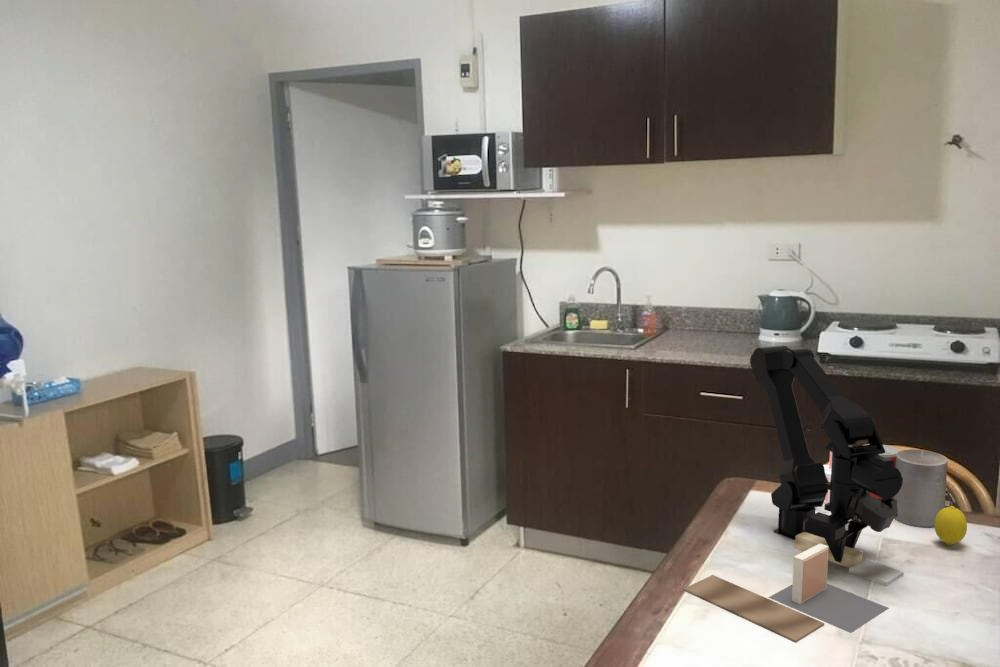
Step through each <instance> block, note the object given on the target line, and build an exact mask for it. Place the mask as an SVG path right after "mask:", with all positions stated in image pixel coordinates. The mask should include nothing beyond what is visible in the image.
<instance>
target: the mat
mask: <svg viewBox="0 0 1000 667" xmlns="http://www.w3.org/2000/svg"><path fill="white" fill-rule="evenodd" d="M792 586H793V583H792V584H790V585H789V586H787V587H785V588H783V589H781V590H779V591H778V592H775V593H774V594H772V595H770V596H769V597H768V599H770V600H772V601H774V602H777V603H779V604H781V605H784V606H786V607H788V608H791V609H793V610H795V611H797V612H800V613H802V614H804V615H807V616H809V617H811V618H814V619H816V620H818V621H821V622H823V623H826V624H828V625H831V626H833V627H836V628H838V629H841V630H842V631H845V632H848V633H850V634H852V633H854V632H855V631H856V630H858V629H860V628H861V627H862V626H864V625H866V624H867V623H869V622H870V621H872V620H873V619H876V617H879V615H881V614H882V613H884V612H885V611H887V610H889V609H890V608H889V607H888V606H885V605H883V604H880V603H879V602H875V601H873V600H870V599H867V598H866V597H862V596H860V595H857V594H854V593H852V592H850V591H847V590H845V589H842V588H839V587H837V586H835V585H831V584H829V583H827V585H826V590H824V591H822V592H821V593H819V594H817V595H815V596H814V597H812V598H810V599H808V600H807V601H805V602H803V603H801V604H799V603H796V602H794V601H792Z"/></svg>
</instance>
